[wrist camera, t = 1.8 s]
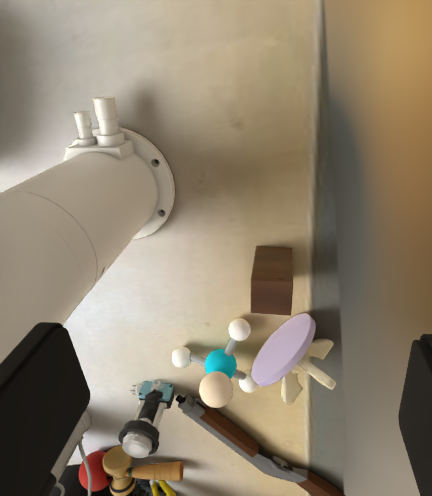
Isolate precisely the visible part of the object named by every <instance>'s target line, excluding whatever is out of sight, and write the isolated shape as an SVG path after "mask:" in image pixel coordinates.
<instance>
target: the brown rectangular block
mask: <svg viewBox="0 0 432 496" xmlns="http://www.w3.org/2000/svg"><path fill="white" fill-rule="evenodd" d="M292 293H293V257H292V248H284V247H258V246H257V247H256V251H255V257H254V263H253V270H252V276H251V313H261V314H275V315H291V309H292Z"/></svg>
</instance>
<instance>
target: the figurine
mask: <svg viewBox="0 0 432 496" xmlns="http://www.w3.org/2000/svg"><path fill="white" fill-rule="evenodd" d="M158 481H159V483H160V486H161V487H162V489H163V490H164V492H165V494H166V495H167V496H177V495H176V494H175V492H174V491H173V489H172V488H171V487H170V486H169V485H168V484H167V483H166V481H165V480H158ZM150 485H151V487H152V491H153V496H160V494H159V492H158V488H157V485H156V481H155V480H152V479H151V480H150Z"/></svg>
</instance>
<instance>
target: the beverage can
mask: <svg viewBox="0 0 432 496" xmlns="http://www.w3.org/2000/svg"><path fill="white" fill-rule="evenodd" d="M138 483H139V482H138ZM135 488H139V489H138V491H137V490H134V491H132V493H133V496H153V491H152V488H151V486H150V485H148V483H147V481H141V484H140V483H139V484H138V485H137V481H135ZM157 488H158V487H157ZM158 492H159V494H160V496H167V495H166V494H165V493H162V492H161V491H160V490H158Z"/></svg>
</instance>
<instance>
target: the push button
mask: <svg viewBox="0 0 432 496" xmlns="http://www.w3.org/2000/svg"><path fill="white" fill-rule="evenodd" d="M157 382H158V383H157ZM135 387H137V388H135ZM133 389H136V390H137V391H135V390H130V392H131V394H135V395H138V396H139V402H138V403H139V406H138V409H137V411H136V413H135V416H134V418H133V420H132V421H129V422H127V423H126V424H125V426H124V428H123V429H122V430H121V431H120V433H119V441H120V443H121V444H122V448H123V450H124V451H125V452H126V453H127V454H129V455H130V456H132V457H136V458H144V457H146V456H148V455H150V454H153V453H155V452H156V451H157V449H158V446H159V441H158V439H159V432H158V430H157V428H158V425H159V422H160V420H161V417H162V414H163V411H164V409H166V408H167V409H169V408H170V407H171V404H172V401H173V398H174V388H173V384H166V383H161V381H158V380H155V381H154V382H148V381H145V382H143V384H142V385H139V386H136V385H133ZM133 392H135V393H133Z"/></svg>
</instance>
